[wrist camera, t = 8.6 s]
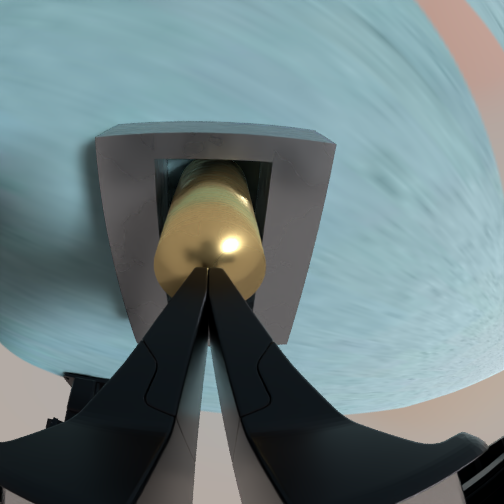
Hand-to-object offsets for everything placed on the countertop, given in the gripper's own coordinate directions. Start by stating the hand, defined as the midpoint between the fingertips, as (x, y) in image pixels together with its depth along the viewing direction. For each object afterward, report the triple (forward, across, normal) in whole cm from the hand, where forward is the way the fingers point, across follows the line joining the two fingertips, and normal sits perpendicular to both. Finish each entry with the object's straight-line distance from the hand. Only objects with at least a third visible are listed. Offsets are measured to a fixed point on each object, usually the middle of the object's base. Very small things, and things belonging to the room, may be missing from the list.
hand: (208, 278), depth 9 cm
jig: (+7, 0, +3) cm, 8 cm away
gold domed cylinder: (+7, 0, 0) cm, 7 cm away
